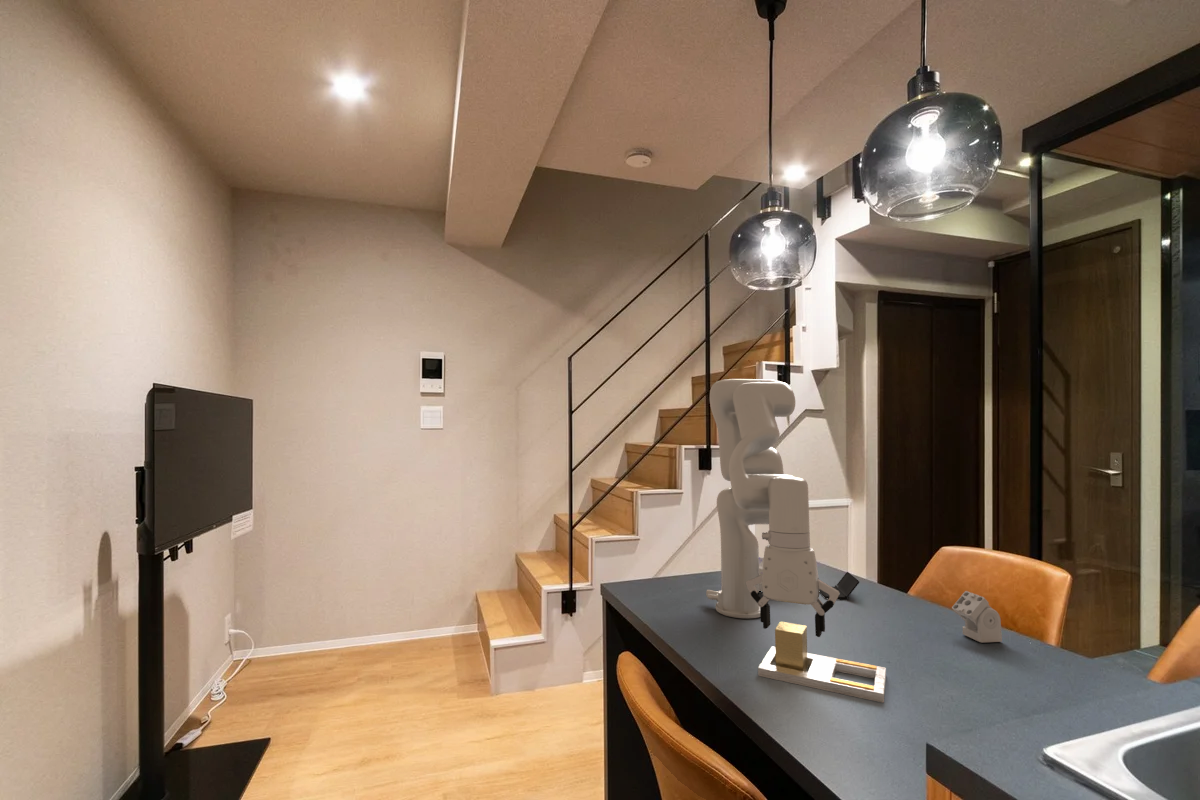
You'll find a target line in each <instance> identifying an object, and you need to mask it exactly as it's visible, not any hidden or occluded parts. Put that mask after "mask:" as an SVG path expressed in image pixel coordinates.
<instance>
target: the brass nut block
mask: <svg viewBox="0 0 1200 800" xmlns="http://www.w3.org/2000/svg"><path fill="white" fill-rule="evenodd" d="M807 629H808V627H807V625H804V624H803V625H802V624H799V623H798V624H797V623H792V622H785V621H779V623H778V624H777V625H776V628H775V629H774V639H775V640H774V644H775V646H774V647H775V656H776V662H775V666H779V667H784V668H789V669H794V670H799V671H804V672H807V670H808V667H809V666H808V665H807V653H808V633H807V632H808V630H807Z"/></svg>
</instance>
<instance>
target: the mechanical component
mask: <svg viewBox="0 0 1200 800" xmlns="http://www.w3.org/2000/svg"><path fill="white" fill-rule="evenodd" d="M951 609H952V610H953V611H954V612H955V613H956V614H957V615H958V616H959V617H960V618H961V619H962V620H963V621H964V623H965V624H964V626H963V625H962V635H964V636H966V637H968V638H970V639H973V640H975V641H977V642H979V643H1002V642H1003V634H1002V624H1001V622H1002V619H1001V616H1000V614H999V612H998V611H997V610H995V609H994V608H992V607H991V606H990V604H989V601H988V600H987V599H986V597H984V596H982V595H979V594H977V593H973V592H970V591H968V590H965V591H964V592H963V593H962V594H961V596H960V597H959V598H958V599H957V601H956V602H955V603H954V604H953V605H952V606H951Z"/></svg>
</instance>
